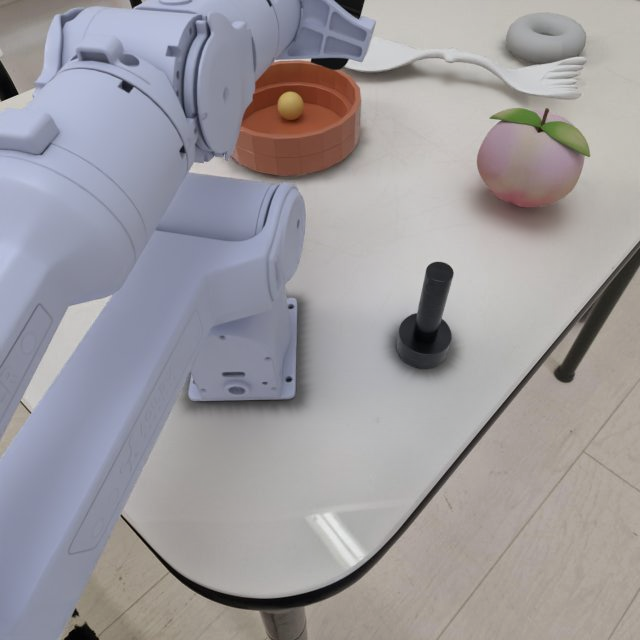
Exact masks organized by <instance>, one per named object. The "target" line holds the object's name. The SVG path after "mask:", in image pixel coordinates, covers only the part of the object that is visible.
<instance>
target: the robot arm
mask: <svg viewBox="0 0 640 640" xmlns="http://www.w3.org/2000/svg"><path fill="white" fill-rule="evenodd" d="M365 2H366V0H145V1H143V2H142V3H140V4H138V5H136V6H134V7H132V8H123V7H112V6H111V7H110V6H99V5H95V6H89V7H83V6H82V7H81V6H80V7H79V6H78V7H74V8H70V9H68V10H67V11H66V12H64V13H57V14H55V15H54V17H53V19H52V21H51V23H50V26H49V28H48V30H47V34H46V38H45V45H44V52H43V65H42V70H41V73H40V74H39V76H38V77H37V79H35V80H34V82H33V84H34V87H35V90H34V91H33V92H32V98H31V100H29V101H28V102H27V104H26V105H25V106H24V107H23V108H22V109H20V108H12V107H7V108H4V109H3V110H2V111H1V112H0V441H2V438H3V436H4V435H5V433H6V430H7V429H8V427H9V425H10V423H11V420H12V419H13V417H14V415H15V413H16V412H17V410H18V407H19V405H20V403H21V401H22V399H23V397H24V395H25V393H26V392H27V389H28V388H29V385H30V383H31V382H32V379H33V377H34V376H35V373H36V372H37V370H38V367H39V366H40V365H41V362H42V360H43V358H44V356H45V355H46V352H47V350H48V348H49V346H50V344H51V342H52V340H53V338H54V336H55V334H56V332H57V330H58V328H59V326H60V324H61V323H62V321H63V318H64V317H65V315H66V312H67V311H68V309H69V307H72V306H75V305H80V304H84V303H88V302H93V301H97V300H102V299H104V298H107V297H109V299H108V301H107V303H105V305H104V307H103V308H102V310H100V312H99V314H98V316H97V317H96V318H95V319H94V321H93V323H92V324H91V326H90V327H89V329H88V330H87V331H86V333H85V334H84V335H83V338H81V340H80V342H79V343H78V345H77V346H76V348H75V349H74V351H72V354H71V355H70V356H69V358H68V359H67V360H66V362H65V364H64V365H63V366H62V368H61V369H60V371H59V372H58V374H57V375H56V377H55V378H54V380H53V381H52V382H51V384H50V385H49V387H48V388H47V390H46V391H45V392H44V394H43V395H42V397H41V398H40V399H39V401H38V403H37V404H36V406H35V407H34V409H33V410H32V412H31V413H30V414H29V416H28V417H27V419H26V420H25V422H24V423H23V425H22V426H21V427H20V429H19V430H18V432H17V433H16V435H15V436H14V438H12V441H11V442H10V443H9V445H8V447H6V450H5V451H4V452H3V454H2V455H1V457H0V640H61V639H62V637H63V635H64V633H65V632H66V631H65V630H66V629H67V627H68V625H69V622H70V621H71V618H72V617H73V615H74V612H75V610H76V608H77V606H78V604H79V602H80V600H81V598H82V596H83V593H84V592H85V590H86V588H87V586H88V583H89V581H90V579H91V577H92V575H93V573H94V572H95V569H96V567H97V566H98V563H99V561H100V559H101V557H102V555H103V552H104V551H105V548H106V546H107V544H108V542H109V540H110V538H111V536H112V535H113V532H114V531H115V527H116V525H117V523H118V522H119V520H120V518H121V516H122V513H123V511H124V509H125V508H126V505H127V503H128V502H129V499H130V497H131V495H132V493H133V491H134V489H135V487H136V484H137V482H138V480H139V478H140V476H141V474H142V473H143V471H144V468H145V467H146V464H147V462H148V460H149V458H150V455H151V454H152V451H153V449H154V448H155V446H156V443H157V441H158V439H159V437H160V436H161V433H162V431H163V429H164V427H165V425H166V424H167V421H168V420H169V417H170V414H171V412H172V410H173V409H174V406H175V404H176V402H177V400H178V398H179V396H180V394H181V392H182V390H183V388H184V386H185V384H186V382H187V379H188V378H189V376H190V381H189V385H188V392H187V395H188V398H189V399H190V401H193V402H213V401H214V402H218V401H221V402H222V401H262V400H263V401H267V400H291V399H293V398H294V397H295V396H296V390H297V389H296V388H297V387H296V385H297V382H296V381H297V380H296V379H297V341H298V340H297V339H298V338H297V337H298V300H297V299H296V298H294V297H287V288H286V284H287V283H288V282H290V280H291V279H292V278H294V276H295V274H296V272H297V269H298V268H299V264H300V260H301V257H302V252H303V247H304V241H305V234H306V222H307V220H306V219H307V218H306V216H307V215H306V203H305V198H304V196H303V195H302V193H301V192H300V191H299V188H298V186H297V185H296V184H295V183H293V182H281V183H274V182H265V181H260V180H259V181H258V180H251V179H243V178H237V177H236V178H235V177H228V176H220V175H212V174H206V173H205V174H204V173H198V172H190V170H191V168H192V167H193V165H194V163H196V164H205V163H209V162H210V161H211V160H212V159H213V158H214V157H215V158H223V157H224V160H225V161H229V160H230V158H231V157H232V156H231V155H232V153H233V151H234V148H235V146H236V143H237V140H238V137H239V133H240V128H241V123H242V119H243V115H244V112H245V110H246V108H247V107H248V106H249V104H250V103H251V102H252V101H253V98H252V97H253V93H254V92H255V82H256V81H257V80H258V79H259V78H260V76H261V75H262V74H263V73H264V72H265V71H266V70H267V69H268V68H269V67H270V65H271V64H272V63H273V62H276V61H288V60H308V59H310V62H311V63H314V64H317V65H320V66H322V67H325V68H328V69H331V70H339V69H340V70H342V69H343V68H345V67H344V66H345V65H346V64H347V62H348V60H349V59H351V60H355V61H358V62H363V60H364V58H365V56H366V54H367V52H368V49H369V45H370V42H371V39H372V36H374V31H375V28H376V24H377V21H376V20H375V19H373V18H370V17H367V16H364V15H362V13H363V9H364V5H365ZM287 380H291V381H287Z"/></svg>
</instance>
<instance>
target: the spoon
mask: <svg viewBox="0 0 640 640" xmlns="http://www.w3.org/2000/svg"><path fill="white" fill-rule="evenodd" d="M427 59H440V60H444V61H445V62H446V63H448V64H454V63H464V64H472V65H476V66H478V67H482V68H483V69H486V70H487V71H489V72H490V73H492V74H493V75H494V76H496V77H497V78H498V79H499V80H500V81H502V82H503V83H504V84H505V85H506V86H508V87H509V88H510V89H511V90H513V91H515V92H517V93H520V94H522V95H527V96H533V97H541V98H548V99H555V100H564V101H565V100H566V101H568V100H569V101H571V100H572V101H574V100H578V99H579V98H581V97H582V92H580V90H579V89H578V88H579V86H578V85H575V84H577V83H578V79H576V78H575V77H578V76H580V75H581V72H579V71H581V70H582V69H583V68H584V67H583V65H584V64H586V63H587V62H588V59H587V57H586V56H577V57H573V58H569V59H564V60H561V61H557V62H553V63H548V64H540V65H539V64H534V65H533V64H532V65H528V66H524V67H520V68H514V69H513V68H507V67H505V66H503V65H501V64H499V63H497V62H496V61H494V60H493V59H490V58H489V57H486V56H484V55H481V54H478V53H472V52H468V51H463V50H460V49H458V48H457V47H450V48H416V47H414V46H410V45H406V44H405V43H404V44H403V43H401V42H397V41H394V40H391V39H386V38H383V37H377V36H375V35H372V39H371V42H370V45H369V49H368V52H367V54H366V56H365V58H364V60H363V62H358V61H355V60H351V59H349V60H348V62H347V64H346V65H345V66H344V67H343V68H345V69H348V70H351V71H355V72H361V73H382V72H383V73H384V72H388V71H392V70H395V69H398V68H401V67H405V66H407V65H411V64H413V63H416V62H418V61H422V60H427Z"/></svg>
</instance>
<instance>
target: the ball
mask: <svg viewBox="0 0 640 640" xmlns="http://www.w3.org/2000/svg"><path fill="white" fill-rule="evenodd" d="M303 109H304V103H303V100H302V98H301V97H300V95H298V94H297V93H295V92H286V93H284V94H283V95H281V97H280V98H279V100H278V111H279V113H280V115H281V116H282V117H283V118H285V119H287V120H295V119H297V118H298V117H300V116H301V114H302V112H303Z"/></svg>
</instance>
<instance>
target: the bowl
mask: <svg viewBox="0 0 640 640" xmlns="http://www.w3.org/2000/svg"><path fill="white" fill-rule="evenodd" d="M286 92H295V93H297V94H298V95H300V97H301V98H302V100H303V103H304V109H303V112H302V114H301V116H300V117H298V118H297V119H295V120H287V119H285V118H283V117H282V116H281V115H280V113H279V111H278V100H279V98H280V97H281V95H283V94H284V93H286ZM252 98H253V101H252V102H251V103H250V104H249V106H248V107H247V108H246V110H245V112H244V115H243V119H242V123H241V128H240V133H239V137H238V140H237V143H236V146H235V148H234V151H233V153H232V155H231V157H232V158H233V159H234V160H235V161H236V162H237V163H239V164H240V165H242V166H244V167H245V168H248V169H250V170H252V171H255V172H258V173H262V174H268V175H274V176H284V177H286V176H287V177H290V176H293V177H294V176H303V175H308V174H313V173H316V172H320V171H324V170H326V169H328V168H331V167H333V166H334V165H337V164H339V163H340V162H342V161H344V159H346V158H347V157H348V156H349V155H350V154H351V153H352V152H353V151H354V150H355V148H356V146H357V144H358V142H359V140H360V137H361V116H362V115H361V114H362V94H361V88H360V86H359V85H358V83H357V82H356V80H355V79H354V78H353V77H352V76H351V75H349V74H348V73H346V72H345V71H343V70H342V69H339V70H331V69H328V68H325V67H322V66H320V65H317V64H314V63H311V60H310V61H308V60H303V59H293V60H277V61H274V62H273V63H272V64H271V65H270V67H269V68H268V69H267V70H266V71H265V72H264V73H263V74H262V75H261V76H260V78H259V79H258V80H257V81H256V82H255V92H254V93H253V97H252Z"/></svg>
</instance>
